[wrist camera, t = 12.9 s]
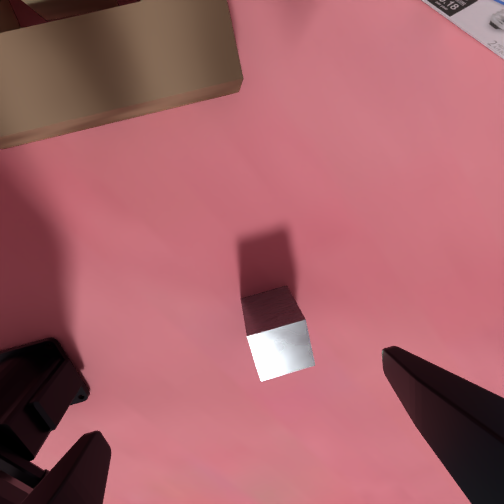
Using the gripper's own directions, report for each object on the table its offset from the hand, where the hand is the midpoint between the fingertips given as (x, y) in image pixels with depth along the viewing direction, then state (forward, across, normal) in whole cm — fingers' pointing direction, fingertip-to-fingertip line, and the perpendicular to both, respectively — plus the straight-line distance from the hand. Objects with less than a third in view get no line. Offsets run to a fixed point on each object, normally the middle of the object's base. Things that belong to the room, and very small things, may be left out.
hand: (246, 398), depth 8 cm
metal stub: (+13, -2, +6) cm, 15 cm away
